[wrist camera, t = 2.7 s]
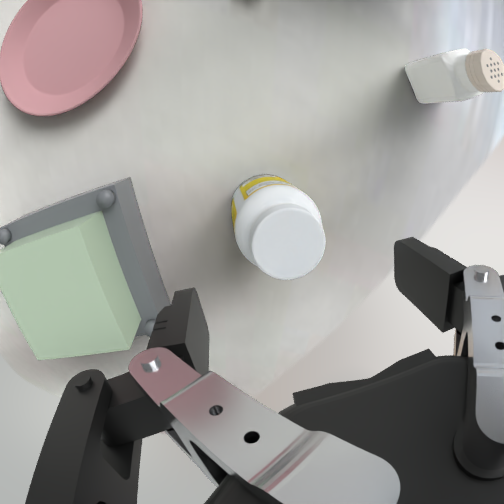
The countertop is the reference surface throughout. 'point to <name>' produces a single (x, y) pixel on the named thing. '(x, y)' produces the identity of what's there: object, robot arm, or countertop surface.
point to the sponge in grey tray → (82, 274)
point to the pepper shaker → (456, 75)
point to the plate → (66, 51)
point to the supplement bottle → (277, 227)
